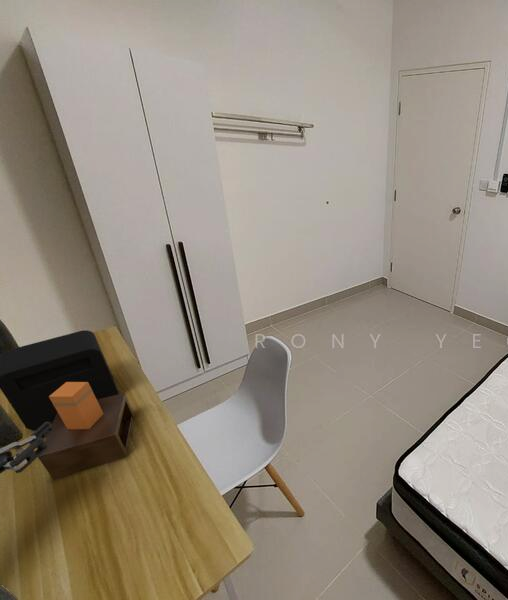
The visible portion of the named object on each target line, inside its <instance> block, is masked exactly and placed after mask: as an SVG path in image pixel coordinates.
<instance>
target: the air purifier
mask: <svg viewBox="0 0 508 600" xmlns="http://www.w3.org/2000/svg"><path fill="white" fill-rule="evenodd" d="M66 382H88V383H89V385H90V387H91V389H92V391H93V393H94V395H95V397H96V399H97V400H98V399H102V398H106V397H110V396H114V395H118V394H120V393H119V390H118V387H117V385H116V382H115V379H114V375H113V374H112V371H111V368H110V367H109V364H108V363H107V359H106V357H105V355H104V353H103V351H102V348H101V346H100V343H99V342H98V339H97V337H96V334H95V333H94V332H92V331H91V330H87V329H85V330H83V329H82V330H79V331H75V332H71V333H68V334H64V335H60V336H56V337H53V338H48V339H44V340H41V341H37V342H34V343H29V344H25V345H22V346H19V347H14V348H10V349H7V350H5V351H3V352H1V353H0V391H1V392H2V394H3V396H4V397H5V398H6V400H7V402H8V403H9V404H10V406H11V407H12V409H13V411H14V412H15V413H16V415H17V416H18V418H19V419H20V421H21V422H22V424H23V425H24V427H25V428H26V429H27V430H28V431H29V430H30V431H36V430H37V429H38V428H39V427H40V426H41V425H42V424H44V423H45V422H51V423H53V421H54V419H55V417H56V414H57V410H56V408H55V407H54V405H53V403H52V401H51V400H50V398H49V396H50V395H51V394H52V393H54V392H55V391H56V390H57V389H58V388H60V387H61V386H62V385H63V384H65V383H66Z"/></svg>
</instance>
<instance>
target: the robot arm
mask: <svg viewBox="0 0 508 600" xmlns="http://www.w3.org/2000/svg"><path fill="white" fill-rule="evenodd" d="M53 428H54V427H53V425H52V423H51V422H45V423H44V424H42V425H41V426H40V427H39V428H38V429H37V430H34V432H32V433H31V434H30V436H29V437H27V438H24V439H22V440H20V441H14V442H11V443H9V444H7V445H3V446H0V474H2V473H3V472H6V471H7V470H8V471H14V472H15V474H20V473H22V472H23V471H24V470H26V468H27V467H29V466H30V465H31V464H32V463H33V462H34V461H35V460H36V459H37V458H38V456H39V455H40V454H41V453H43V452H44V451H45V450H46V449H47V448H48V446H47V445H46V443H45V442H44V441H45V439H46V437H47V436H48V435H49V434H50V433H51V432H52V431H53ZM9 430H10V426H9V425H8V423H7V422H0V438H1V437H3V436H4V435H6V433H7V432H9ZM26 445H28V446H26ZM25 446H26V447H25ZM23 447H24V448H23ZM13 450H15V452H16V453H15V454H14V455H13V453H12V451H13Z"/></svg>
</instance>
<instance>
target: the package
mask: <svg viewBox="0 0 508 600" xmlns="http://www.w3.org/2000/svg"><path fill="white" fill-rule="evenodd" d="M49 398H50V400H51V401H52V403H53V405H54V407H55V408H56V410H57V412H58V413H59V415H60V417H61V419H62V420H63V422H64V424H65V426H66V427H67V429H90V428H91V427H92V426H93V424H94V423H95V422H96V421H97V420H98V419H99V418H100V417H101V416H102V415H103V411H102V409H101V407H100V405H99V403H98V401H97V399H96V397H95V395H94V393H93V391H92V389H91V387H90V385H89V383H88V382H66V383H65V384H63V385H62V386H61V387H60V388H58V389H57V390H56V391H55V392H54V393H52V394H51V395H50V396H49Z"/></svg>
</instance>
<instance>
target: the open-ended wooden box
mask: <svg viewBox="0 0 508 600" xmlns="http://www.w3.org/2000/svg"><path fill="white" fill-rule="evenodd" d="M97 401H98V403H99V405H100V407H101V409H102V411H103V415H102V416H101V417H100V418H99V419H98V420H97V421H96V422H95V423H94V424H93V426H92V427H91V428H90V429H67V427H66V426H65V424H64V422H63V420H62V419H61V417H60V415H59V413H58V412H57V414H56V417H55V419H54V421H53V423H52V425H53V427H54V428H53V431H52V432H51V433H50V434H49V435H48V436H47V437H46V438H45V439H44V442H45V443H46V445H47V446H48V448H47V449H46V450H45V451H44V452H43V453H41V454H40V455H39V456H38V457H37V458H38V459H39V461H40V462H41V464H42V466H43V467H44V468H45V470H46V471H47V473H48V474H49V476H50V477H51V479H52V480H53V481H56V480H59V479H62V478H65V477H68V476H72V475H75V474H78V473H82V472H85V471H88V470H91V469H94V468H97V467H100V466H103V465H107V464H110V463H113V462H116V461H119V460H122V459H126V458H127V456H128V451H127V450H128V446H129V441H130V435H131V432H132V431H131V429H132V425H133V421H134V420H133V419H135V413H134V411H133V408H132V406H131V404H130V402H129V399H128V397H127V394H126V393H125V392H122V393H119V394H118V395H114V396H110V397H106V398H102V399H98V400H97ZM122 422H125V424H124V430H123V434H122V439H121V437H120V435H119V432H120V427H121V423H122Z"/></svg>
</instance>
